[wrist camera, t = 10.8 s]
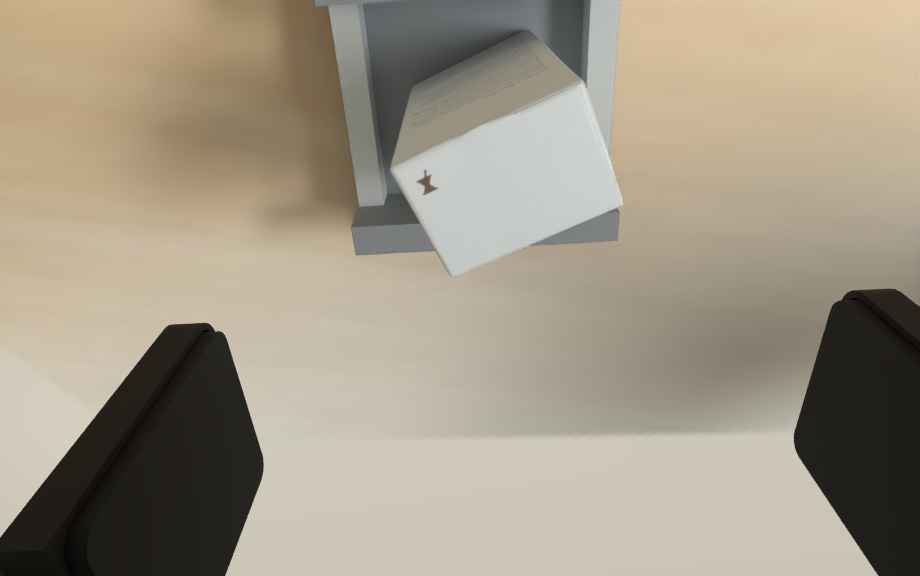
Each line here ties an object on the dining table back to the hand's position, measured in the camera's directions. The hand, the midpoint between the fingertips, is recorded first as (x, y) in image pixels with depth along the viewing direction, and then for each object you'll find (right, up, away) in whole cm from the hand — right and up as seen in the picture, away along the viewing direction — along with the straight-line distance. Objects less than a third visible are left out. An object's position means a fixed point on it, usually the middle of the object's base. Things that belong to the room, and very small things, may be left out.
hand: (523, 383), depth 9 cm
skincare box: (0, +10, +18) cm, 21 cm away
